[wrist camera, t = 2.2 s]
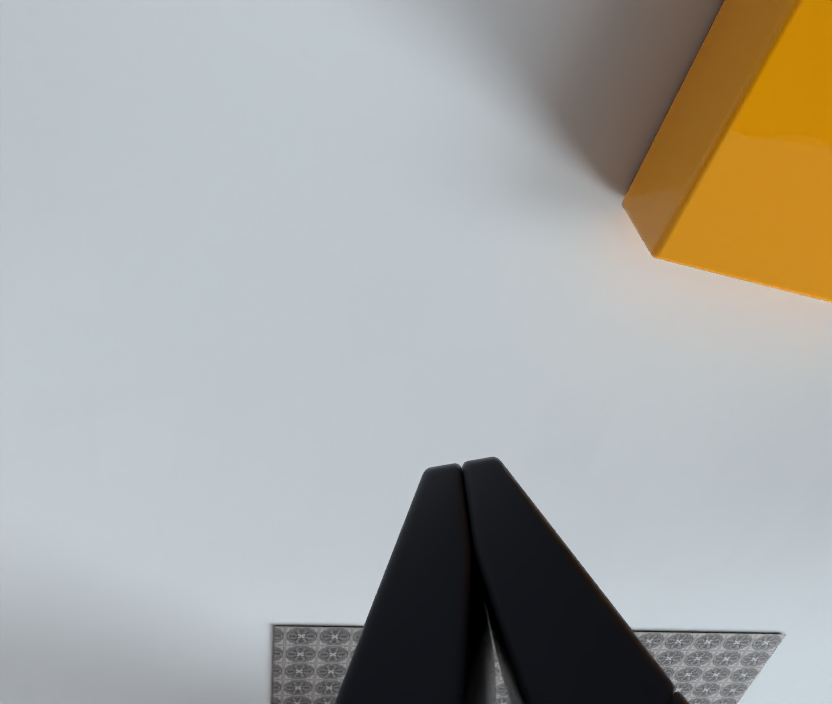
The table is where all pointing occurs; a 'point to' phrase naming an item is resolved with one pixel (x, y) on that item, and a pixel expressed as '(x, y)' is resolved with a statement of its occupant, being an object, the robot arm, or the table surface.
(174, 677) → the table surface
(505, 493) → the robot arm
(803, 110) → the mustard yellow box
